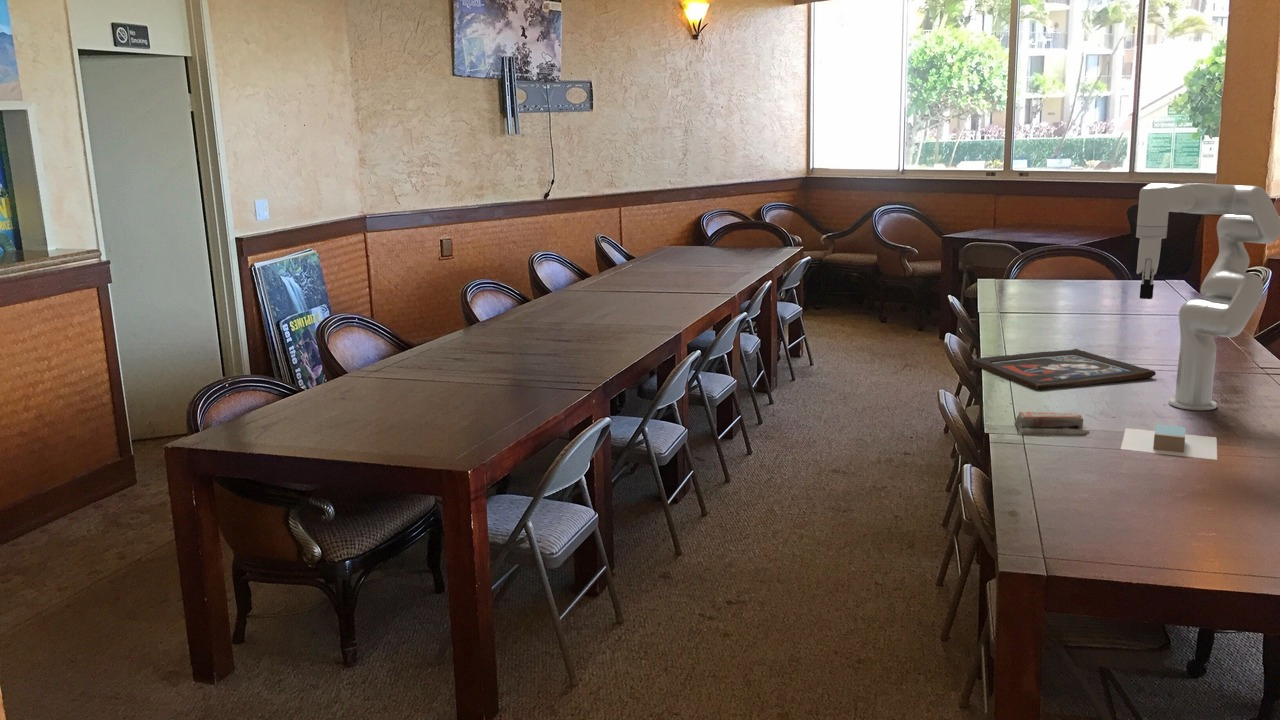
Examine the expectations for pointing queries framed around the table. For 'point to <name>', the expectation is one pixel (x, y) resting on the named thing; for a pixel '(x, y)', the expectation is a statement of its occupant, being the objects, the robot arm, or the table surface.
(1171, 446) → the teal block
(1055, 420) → the packaged product
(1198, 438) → the board
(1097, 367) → the religious icon
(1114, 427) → the table surface
